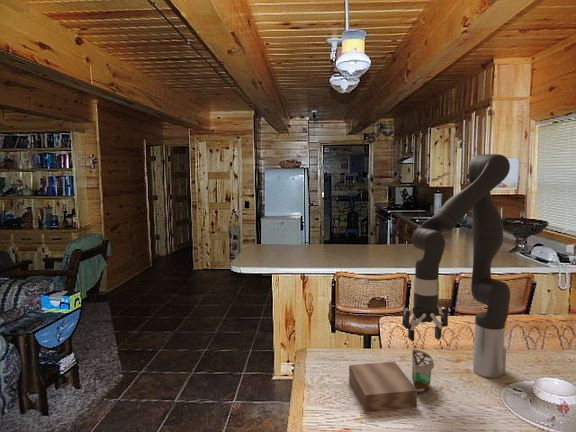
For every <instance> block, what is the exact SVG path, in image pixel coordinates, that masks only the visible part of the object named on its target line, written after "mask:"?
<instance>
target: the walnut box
mask: <svg viewBox="0 0 576 432" xmlns="http://www.w3.org/2000/svg"><path fill="white" fill-rule="evenodd" d="M348 375H349V376H348V381H349V384H350V385H351V387H352V389H353V391H354V393H355V396H356V397H357V399H358V401H359V403H360V405H361V406H362V409H363V411H364V413H375V412H377V413H378V412H387V411H396V410H406V409H407V410H409V409H417V408H418V394H417V389H416V388H415V387H414V385H413V382H411V380H410V379H409V378H408V377H407V375H406V374H405V372H403V370H402V369H401V368H400V366H399V365H398V363H396V361H385V362H384V361H383V362H374V363H373V362H372V363H371V362H370V363H361V364H349V365H348Z"/></svg>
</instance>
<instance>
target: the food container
mask: <svg viewBox="0 0 576 432" xmlns="http://www.w3.org/2000/svg"><path fill="white" fill-rule="evenodd" d="M411 355H412V363H411V364H412V369H411V370H412V371H411V372H412V373H411V374H412V375H411V379H412V384H413V386H414V387H415V388H416V389H417V395H418V394H424V393H427V392H428V391H430V386H431V376H432V370H433V369H434V367H435V364H434V359H433V358H432V356H431V355H430V354H429V353H427V352H425V351H423V350H419V349H412V354H411Z"/></svg>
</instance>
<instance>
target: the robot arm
mask: <svg viewBox="0 0 576 432" xmlns="http://www.w3.org/2000/svg"><path fill="white" fill-rule="evenodd" d="M510 169H511V163H510V161H509V159H508V158H507V157H506V156H504V155H502V154H499V153H497V154H496V153H495V154H494V153H490V154H485V153H484V154H476V155H474V156H473V157H472V158H471V160H470V161H469V164H468V180H469V181H468V182H469V185H468V186H467V187H465V188H463V189H462V190H460V191H458V192H457V193H455V194H454V195H453V196H451V197H450V198H448V199H447V200H446V201H445V202H444V203H443V205H442V206H441V207H440V208H439V209H438V210H437V212H436V213H435V214H434V215H433V216H432V217H430V218H428V219H427V220H426V221H424V222H423V223H421V224H420V225H419V226H418V227H417V228H416V229H415V231H414V232H413V234H412V236H411V243H412V245H413V246H414V247H415V248H416V249H418V250H421V251H424V254H423V256H422V257H420V258H417V259H416V261H415V270H414V271H415V272H414V275H415V276H414V283H413V307H412V309H409V308H408V309H407V308H406V307H405V308H403V314H402V323H401V325H402V326H403V327H404V328H405V330H407V338H408V339H409V340H410V341H411V342H415V334H416V333H415V328H416V327H417V326H419V325H420V324H423V323H432V322H433V324H434V325H435V326H434V338H435V339H436V340H437V341H439V340H441V339H442V332H443V331H442V329H443V328H445V327H448V325H449V321H448V319H449V317H448V316H449V315H448V314H449V313H448V311H449V310H448V309H447V308H446V307H445V306H443V305H442V306H440V307H439V297H440V296H439V295H440V294H439V292H440V282H439V281H440V280H439V277H440V276H439V273H440V271H439V270H440V263H441V261H442V257H443V254H444V251H445V248H446V239H445V237H444V235H443V233H444V232H445V233H447V232H451V231H452V230H453V229H455V228H456V226H457V225H458V224H459V223H460V222H461V220H462V219H463V218H464V217H465V216H466V214H467V213H468V212H470V210H471V212H472V247H473V249H472V250H473V251H472V253H473V255H472V258H473V259H472V273H471V284H470V285H471V287H470V288H471V289H470V291H471V295H472V298H473V300H474V301H476V302H478V303H481V304H484V305H486V306H487V307H486V311H482V312H478V313H477V314H475V320H474V321H475V322H474V340H473V341H474V342H473V343H474V344H473V363H472V365H473V366H472V367H473V368H472V370H473V372H474V373H476V374H477V375H479V376H481V377H484V378H489V379H491V378H492V379H498V378H500V377H502V376H503V375H506V364H507V362H506V361H507V347H505V333H506V331H505V330H506V321H507V320H508V317H509V309H510V302H511V301H510V299H511V290H510V286H509V285H508V284H507V283H506V282H505V281H501V280H498V279H495V278H493V277H492V274H491V273H492V270H491V269H492V262H493V260H494V258H495V257H496V255H497V253H498V252H499V250H500V249H501V247H502V245H503V243H504V223H503V218H502V215H501V214H500V211H499V210H498V208H497V206H496V204H495V202H494V200H493V197H492V194H491V193H492V190H494V189H495V188H496V187H497V186H499V185H500V184H501V183H503V181H504V180H505V179H506V178H507V177H508V175H509V173H510ZM412 314H413V316H412ZM438 314H440V321H439V319H438V318H437V316H438ZM411 316H412V318H411V319H410V317H411Z"/></svg>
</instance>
